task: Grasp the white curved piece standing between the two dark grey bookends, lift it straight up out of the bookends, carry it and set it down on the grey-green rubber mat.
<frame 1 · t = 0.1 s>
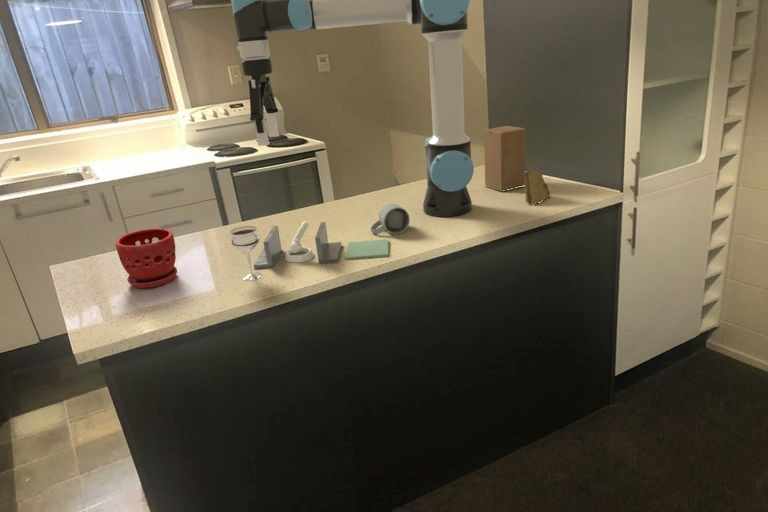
hand: (269, 140, 147), 28 cm above the counter, tool pointing down, fingers open, 13 cm apart
mat: (367, 250, 141), on the counter
white curved piece: (299, 257, 141), on the counter
ceramic mug: (390, 231, 154), on the counter
dark grey bookends: (299, 256, 141), on the counter
wineglass: (252, 277, 131), on the counter
wooden block: (504, 187, 186), on the counter
rock: (539, 201, 168), on the counter
plant pot: (156, 281, 134), on the counter
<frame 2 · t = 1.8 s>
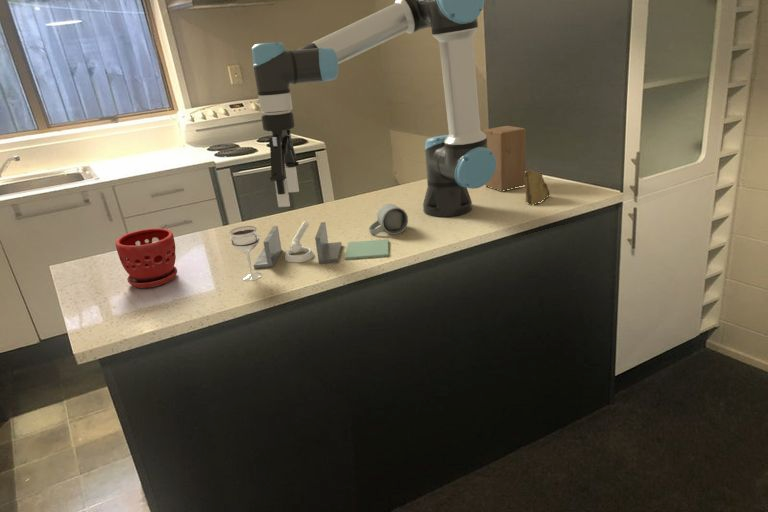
hand: (289, 198, 135), 16 cm above the counter, tool pointing down, fingers open, 13 cm apart
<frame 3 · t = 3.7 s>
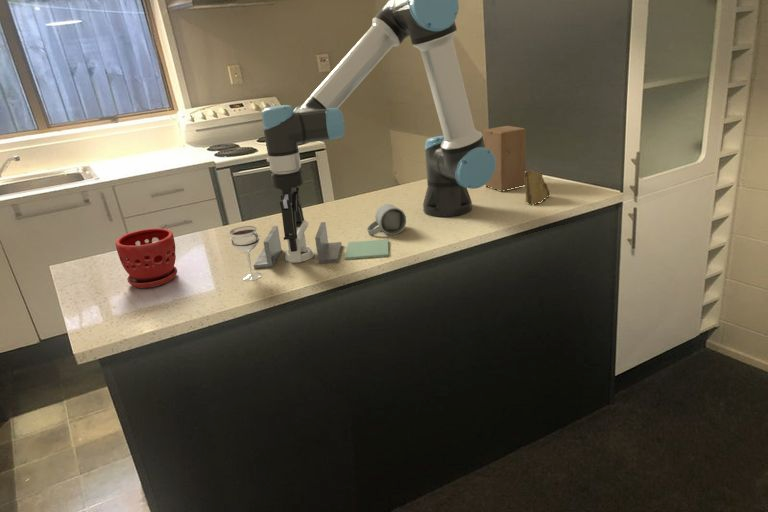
hand: (299, 255, 141), 0 cm above the counter, tool pointing down, fingers closed on white curved piece, 8 cm apart
white curved piece: (299, 257, 141), on the counter, touching gripper
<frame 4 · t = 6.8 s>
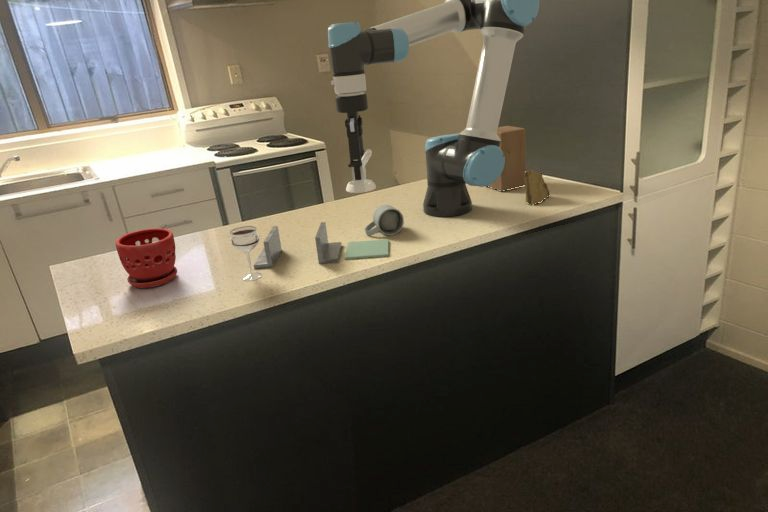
hand: (360, 187, 135), 17 cm above the counter, tool pointing down, fingers closed on white curved piece, 8 cm apart
white curved piece: (361, 189, 135), point 16 cm above the counter, touching gripper
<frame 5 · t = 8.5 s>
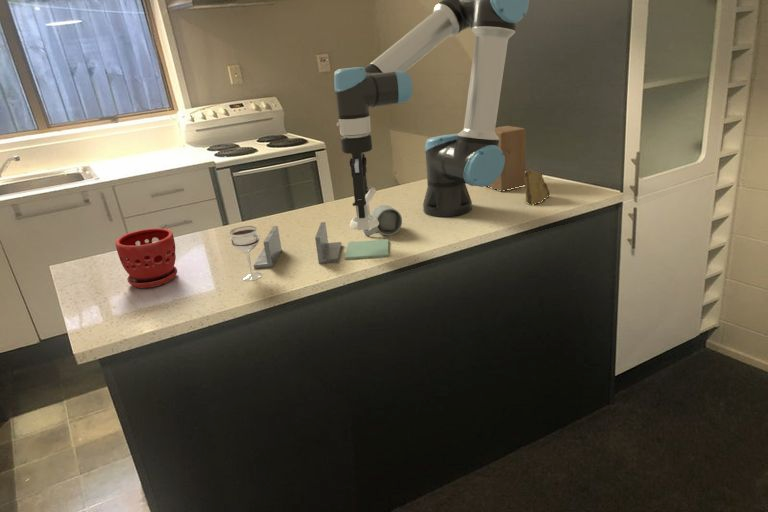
hand: (364, 224, 138), 7 cm above the counter, tool pointing down, fingers closed on white curved piece, 8 cm apart
white curved piece: (364, 225, 138), point 7 cm above the counter, touching gripper
when the fingers open (2 cm above the counter, at t = 9.9 s): white curved piece drops 1 cm, resting on mat.
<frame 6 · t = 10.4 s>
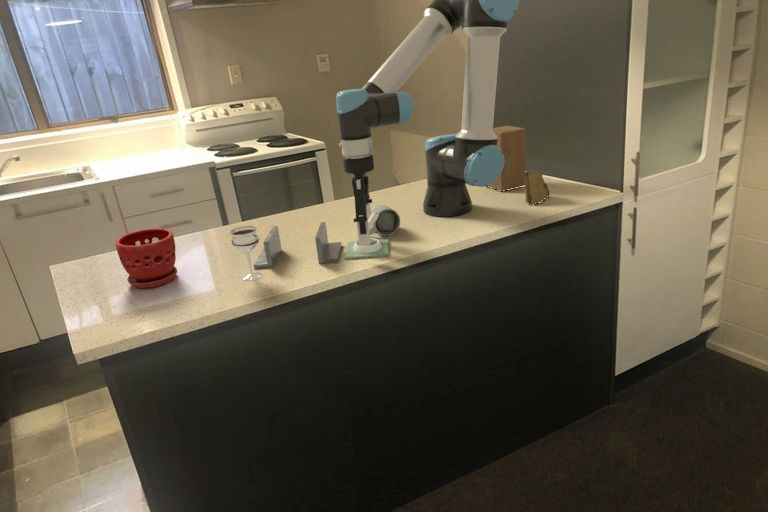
hand: (366, 236, 140), 4 cm above the counter, tool pointing down, fingers open, 13 cm apart
white curved piece: (367, 248, 141), resting on mat
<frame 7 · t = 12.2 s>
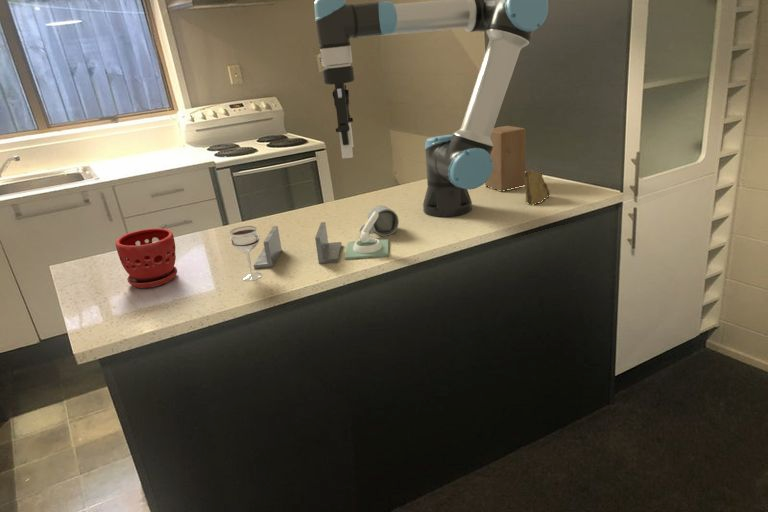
hand: (348, 152, 139), 25 cm above the counter, tool pointing down, fingers open, 13 cm apart
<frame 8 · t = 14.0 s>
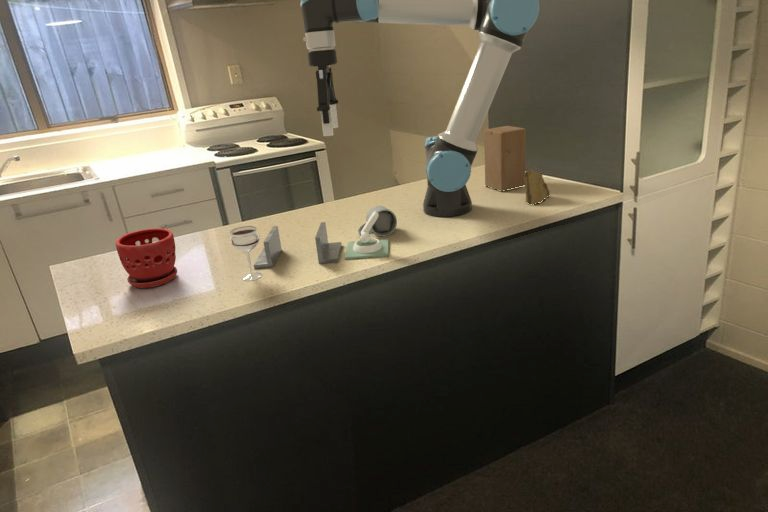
hand: (331, 131, 147), 29 cm above the counter, tool pointing down, fingers open, 13 cm apart
at the end: white curved piece inside the target area on the mat (0.1 cm from its centre), point 0.4 cm above the mat's base; the gripper is holding nothing; white curved piece touching mat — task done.
